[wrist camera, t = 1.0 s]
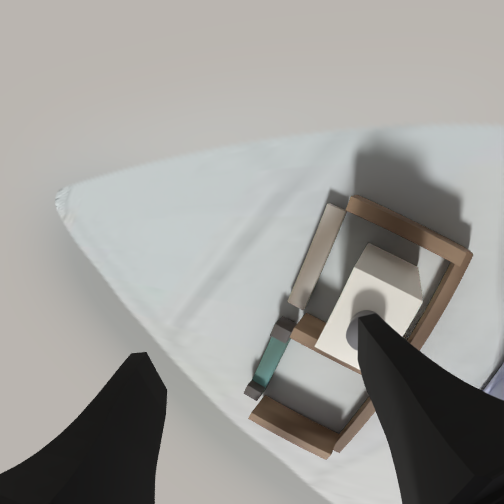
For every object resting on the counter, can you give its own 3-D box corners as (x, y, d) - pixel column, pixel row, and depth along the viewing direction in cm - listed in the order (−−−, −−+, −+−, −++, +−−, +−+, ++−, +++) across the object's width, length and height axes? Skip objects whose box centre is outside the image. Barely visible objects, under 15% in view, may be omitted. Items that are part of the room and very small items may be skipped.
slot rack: (469, 250, 16) (478, 259, 14) (342, 443, 22) (335, 463, 20) (336, 185, 19) (327, 186, 17) (247, 392, 25) (233, 409, 23)
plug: (417, 267, 18) (424, 310, 12) (385, 327, 19) (372, 389, 13) (368, 242, 19) (350, 272, 13) (339, 304, 21) (308, 356, 14)
